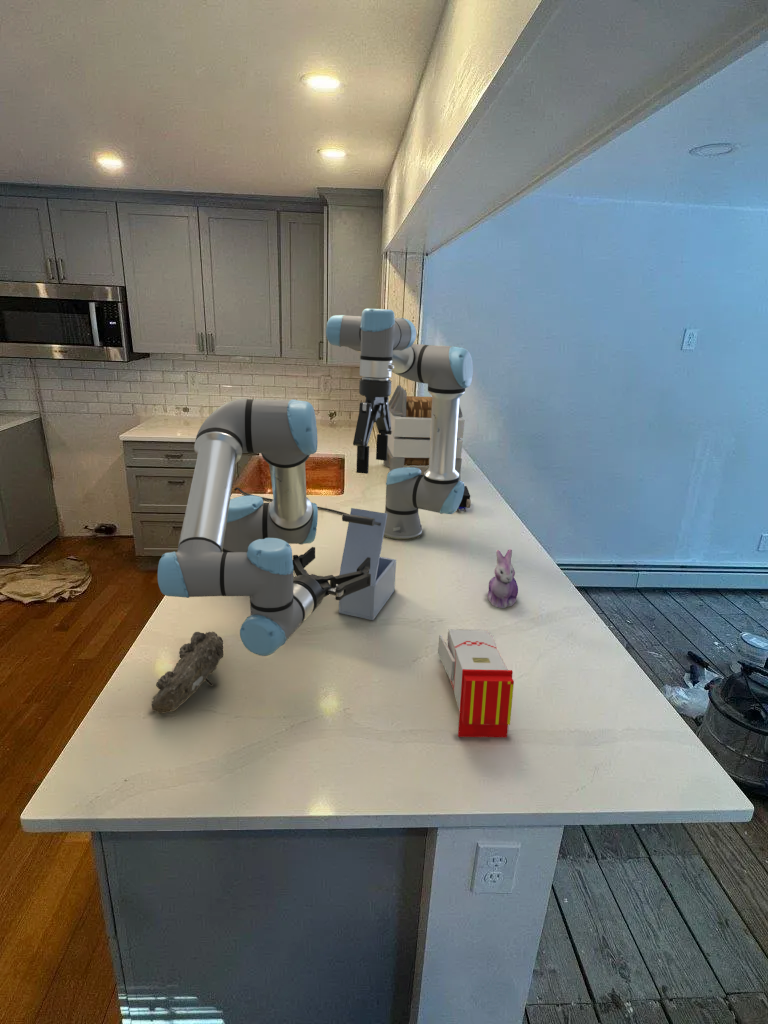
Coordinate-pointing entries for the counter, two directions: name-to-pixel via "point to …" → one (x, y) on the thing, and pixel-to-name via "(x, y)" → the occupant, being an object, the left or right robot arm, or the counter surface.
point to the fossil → (188, 671)
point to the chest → (371, 593)
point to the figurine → (503, 582)
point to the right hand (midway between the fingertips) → (372, 466)
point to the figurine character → (465, 500)
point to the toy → (478, 682)
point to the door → (363, 540)
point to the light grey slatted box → (414, 431)
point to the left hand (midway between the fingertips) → (340, 557)
